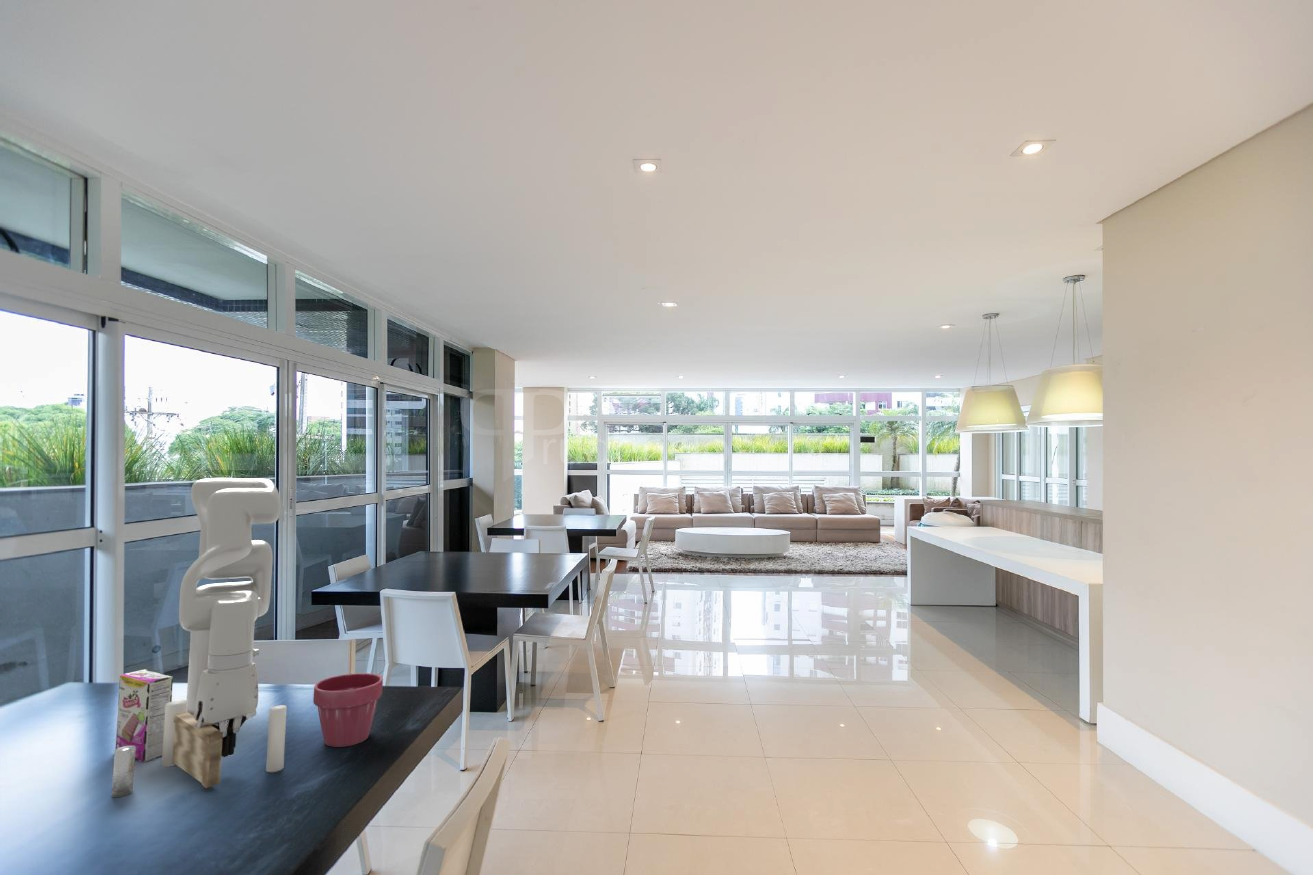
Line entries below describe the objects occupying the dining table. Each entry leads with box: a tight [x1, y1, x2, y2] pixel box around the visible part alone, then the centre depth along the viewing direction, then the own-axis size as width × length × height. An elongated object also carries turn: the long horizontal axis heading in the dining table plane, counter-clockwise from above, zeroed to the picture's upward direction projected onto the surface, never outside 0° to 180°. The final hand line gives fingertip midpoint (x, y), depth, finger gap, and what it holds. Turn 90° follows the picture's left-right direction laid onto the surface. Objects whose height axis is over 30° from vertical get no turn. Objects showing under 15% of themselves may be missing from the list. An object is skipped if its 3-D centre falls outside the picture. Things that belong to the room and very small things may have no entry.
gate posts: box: [161, 699, 288, 773], centre depth 130 cm, size 4×26×12 cm, turn 84°
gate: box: [173, 712, 223, 789], centre depth 125 cm, size 18×2×9 cm, turn 54°
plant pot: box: [312, 672, 384, 748], centre depth 145 cm, size 14×14×13 cm
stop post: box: [111, 745, 136, 798], centre depth 118 cm, size 3×3×8 cm
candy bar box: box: [114, 668, 174, 763], centre depth 136 cm, size 11×5×16 cm, turn 65°
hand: (225, 753), depth 127 cm, fingers closed
